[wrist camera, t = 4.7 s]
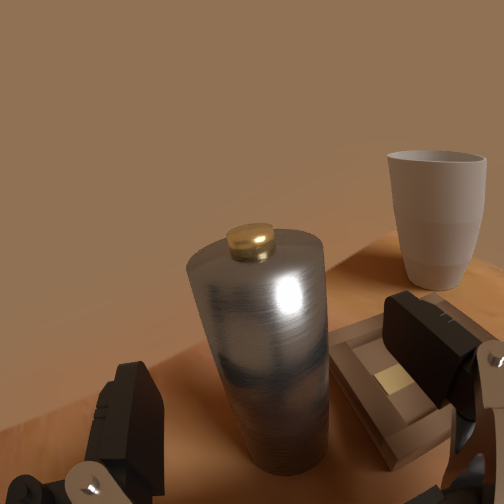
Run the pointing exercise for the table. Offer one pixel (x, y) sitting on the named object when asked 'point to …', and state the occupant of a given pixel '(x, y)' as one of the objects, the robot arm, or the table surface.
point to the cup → (437, 213)
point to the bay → (391, 388)
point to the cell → (269, 339)
